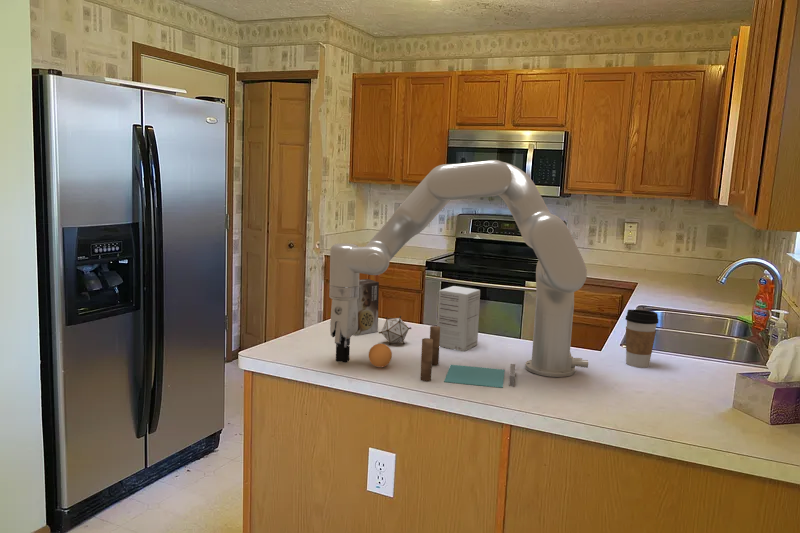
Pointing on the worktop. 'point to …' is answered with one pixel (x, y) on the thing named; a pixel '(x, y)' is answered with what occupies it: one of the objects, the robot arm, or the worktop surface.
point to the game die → (395, 330)
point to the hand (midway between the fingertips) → (342, 361)
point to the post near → (426, 359)
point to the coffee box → (367, 306)
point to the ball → (380, 355)
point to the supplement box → (458, 317)
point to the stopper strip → (512, 375)
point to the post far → (435, 344)
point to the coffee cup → (640, 337)
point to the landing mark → (475, 376)
